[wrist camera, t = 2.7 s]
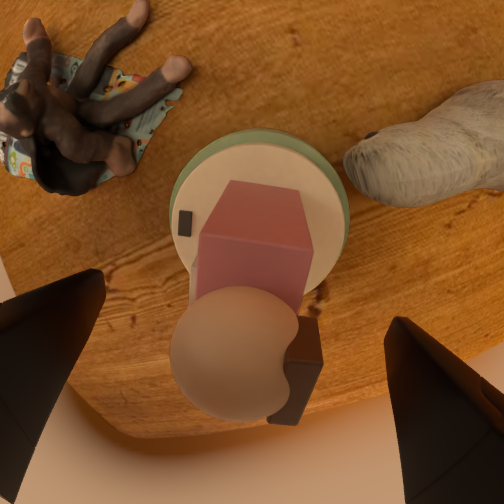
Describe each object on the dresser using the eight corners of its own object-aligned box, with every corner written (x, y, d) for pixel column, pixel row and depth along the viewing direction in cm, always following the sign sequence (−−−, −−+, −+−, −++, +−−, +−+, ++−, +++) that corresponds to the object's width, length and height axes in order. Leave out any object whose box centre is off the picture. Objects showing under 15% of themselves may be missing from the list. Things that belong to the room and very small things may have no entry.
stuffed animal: (222, 131, 14) (-5, 259, 10) (171, 150, 23) (31, 229, 19) (141, -52, 10) (-73, 48, 6) (117, 23, 18) (-23, 93, 14)
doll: (320, 305, 17) (346, 485, 8) (174, 282, 17) (96, 447, 8) (357, 159, 14) (491, 269, 4) (183, 132, 14) (25, 196, 4)
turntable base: (358, 145, 15) (368, 150, 14) (322, 292, 19) (326, 311, 18) (186, 118, 15) (175, 120, 14) (176, 270, 19) (167, 287, 18)
